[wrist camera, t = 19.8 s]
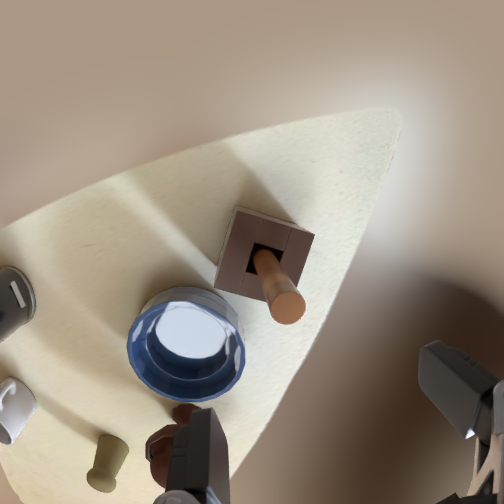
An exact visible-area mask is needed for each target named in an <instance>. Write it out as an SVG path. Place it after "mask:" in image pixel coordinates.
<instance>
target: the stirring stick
mask: <svg viewBox="0 0 504 504" xmlns="http://www.w3.org/2000/svg"><path fill="white" fill-rule="evenodd" d="M251 257H252V260H253V263H254V266H255V268H256V271H257V274H258V277H259V280H260V283H261V286H262V289H263V292H264V295H265V298H266V301H267V304H268V307H269V310H270V313H271V315H272V317H273V319H274V320H275V321H277V322H278V323H280V324H286V325H287V324H293V323H295V322H297V321H298V320H299V319H301V317H302V316H303V314H304V312H305V308H306V305H305V301H304V299H303V297H302V296H301V294H300V293H299V291H298V290H297V288H296V287H295V285H294V284H293V282H292V281H291V279H290V278H289V276H288V275H287V273H286V272H285V270H284V269H283V267H282V266H281V264H280V263H279V261H278V260H277V258H276V257H275V256H274V254H273V253H272V251H271V250H270V248H269V247H268V246H264V245H261V244H258V243H255V242H254V246H253V249H252V252H251Z"/></svg>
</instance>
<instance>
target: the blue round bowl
mask: <svg viewBox="0 0 504 504" xmlns="http://www.w3.org/2000/svg"><path fill="white" fill-rule="evenodd" d="M127 352H128V357H129V362H130V364H131V366H132V368H133V369H134V371H135V373H136V375H137V376H138V378H139V379H140V380H141V381H142V382H144V383H145V384H146V385H147V386H148V387H149V388H150V389H151V390H153V391H155V392H157V393H158V394H160V395H162V396H164V397H166V398H170V399H173V400H177V401H181V402H203V401H207V400H211V399H215V398H217V397H219V396H220V395H222V394H224V393H226V392H227V391H229V390H230V389H231V388H232V387H233V386H234V385H235V383H236V382H237V381H238V380H239V379H240V377H241V374H242V372H243V369H244V366H245V344H244V335H243V328H242V325H241V323H240V320H239V318H238V315H237V313H236V312H235V311H234V310H233V309H232V307H231V306H230V305H229V304H228V303H227V301H225V300H224V299H222V298H221V297H219V296H218V295H216V294H214V293H213V292H211V291H208V290H204V289H201V288H197V287H193V286H187V287H173V288H170V289H168V290H165V291H162V292H159V293H158V294H157V295H155V296H154V297H153V298H152V299H150V300H149V301H148V302H147V303H146V305H145V306H144V308H143V309H142V311H141V312H140V314H139V315H138V317H137V318H136V320H135V322H134V324H133V325H132V327H131V329H130V330H129V334H128V340H127Z"/></svg>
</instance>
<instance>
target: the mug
mask: <svg viewBox="0 0 504 504" xmlns="http://www.w3.org/2000/svg"><path fill="white" fill-rule="evenodd" d="M36 409H37V403H36V400H35V398H34V396H33V394H32V393H31V391H30V390H29V389H28V388H27V387H26V386H25V385H24V384H23V383H22V382H20V381H19V380H17V379H15V378H6V379H5V380H4V381H3V382H2V383H1V384H0V442H1V443H3V444H6V445H11V444H13V442H14V441H15V439H16V438H17V436H18V435H19V433H20V432H21V431H22V429H23V428H24V426H25V425H26V423H27V422H28V421H29V419H30V418H31V417H32V415H33V414H34V413H35V411H36Z"/></svg>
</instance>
